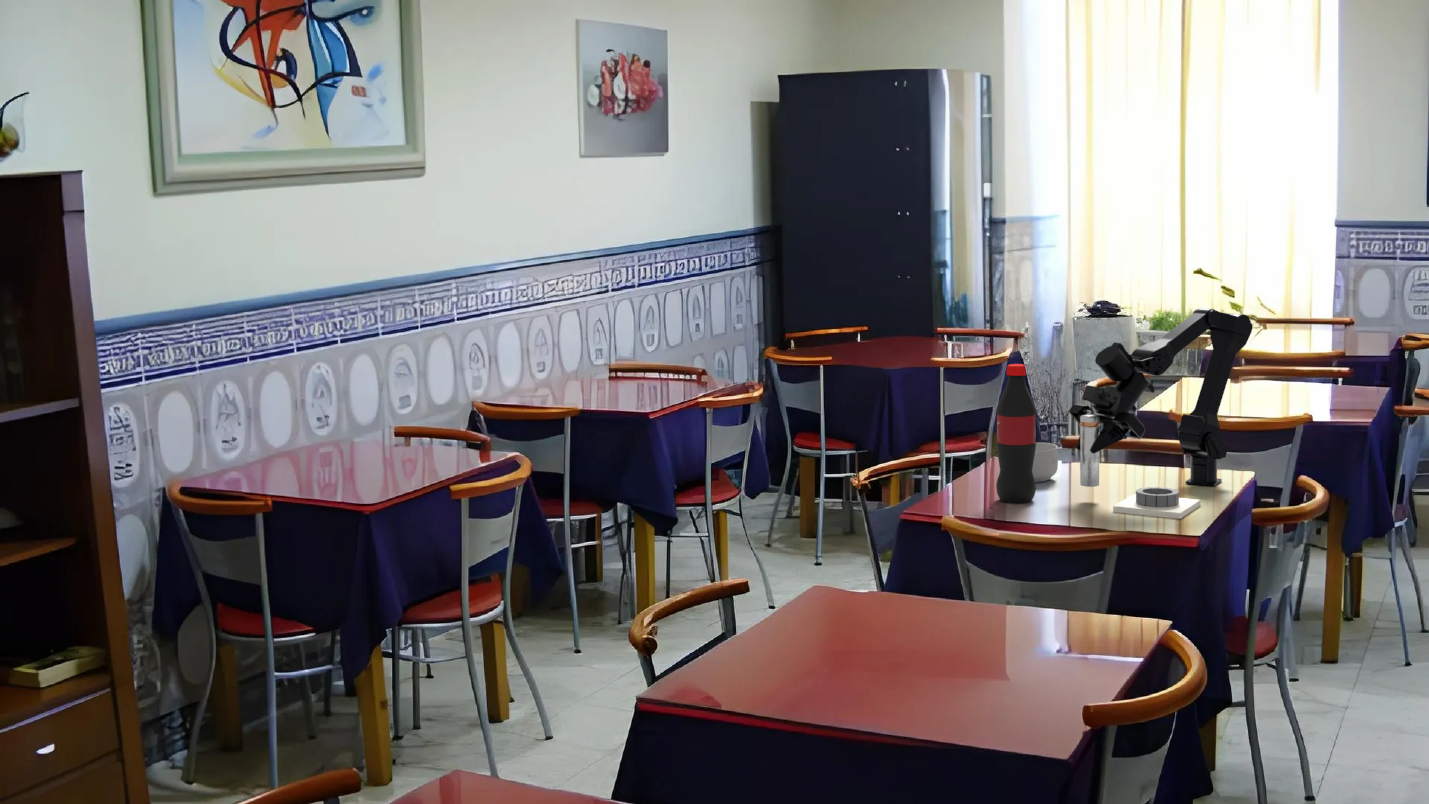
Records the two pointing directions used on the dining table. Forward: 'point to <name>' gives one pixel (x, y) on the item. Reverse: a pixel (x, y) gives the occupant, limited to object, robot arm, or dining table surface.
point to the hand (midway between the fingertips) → (1084, 450)
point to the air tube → (1088, 459)
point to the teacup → (1045, 461)
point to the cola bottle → (1016, 439)
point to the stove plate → (1157, 511)
